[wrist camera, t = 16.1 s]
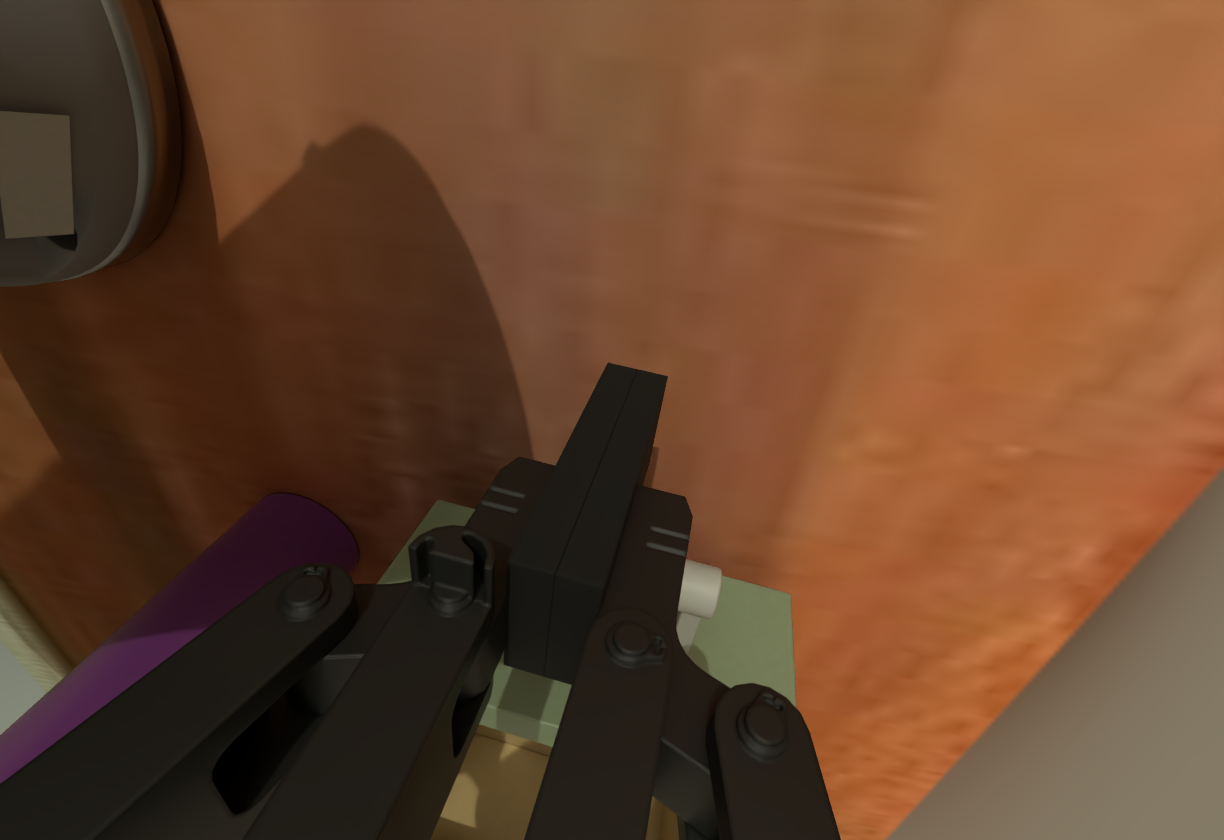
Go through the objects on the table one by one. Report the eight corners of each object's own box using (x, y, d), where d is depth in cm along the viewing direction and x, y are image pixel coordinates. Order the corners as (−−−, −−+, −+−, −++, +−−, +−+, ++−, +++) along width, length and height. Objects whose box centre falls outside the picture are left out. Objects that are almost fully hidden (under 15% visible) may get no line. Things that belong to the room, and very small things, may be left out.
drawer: (432, 410, 19) (296, 559, 14) (833, 510, 18) (864, 723, 12) (449, 708, 31) (378, 856, 25) (695, 784, 29) (679, 960, 24)
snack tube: (242, 478, 25) (-188, 834, 14) (353, 508, 25) (1, 906, 13) (268, 558, 28) (-66, 904, 17) (367, 587, 28) (91, 964, 16)
